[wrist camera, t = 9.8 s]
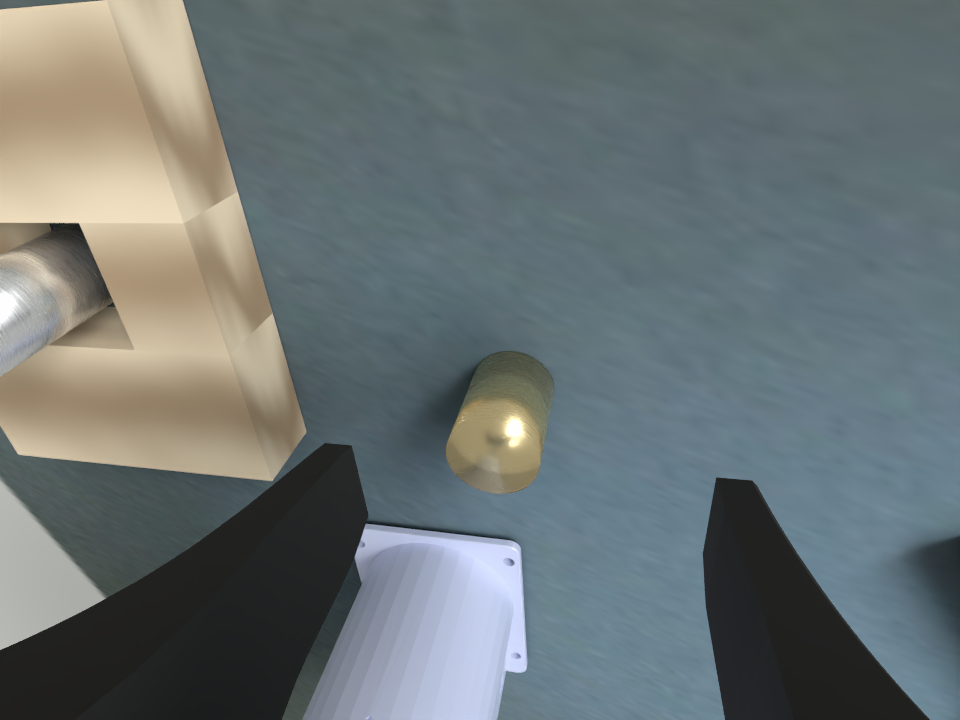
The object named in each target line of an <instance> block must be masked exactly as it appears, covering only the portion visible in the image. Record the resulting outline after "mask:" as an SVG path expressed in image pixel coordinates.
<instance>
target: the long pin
mask: <svg viewBox="0 0 960 720" xmlns="http://www.w3.org/2000/svg"><path fill="white" fill-rule="evenodd" d="M111 303H113V300H112V297H111V295H110V293H109V290H108V288H107V286H106V284H105V281H104V279H103V277H102V275H101V272H100V270H99V268H98V265H97V263H96V261H95V259H94V256H93V254H92V252H91V249H90V247H89V245H88V243H87V240H86V238H85V236H84V233H83V231H82V229H81V227H80V224H79V223H66V224H64V225H62V226H60V227H58V228H55V229H53V230H51V231H49V232H47V233H45V234H43V235H40V236H38V237H36V238H34V239H32V240H30V241H28V242H26V243H23V244H21V245H19V246H17V247H15V248H13V249H11V250H8V251H6V252H4V253H2V254H0V377H1V376H2V375H4V374H5V373H7V372H8V371H10V370H11V369H13V368H14V367H16V366H17V365H19V364H20V363H22V362H23V361H25V360H26V359H28V358H29V357H31V356H32V355H34V354H35V353H37V352H38V351H40V350H41V349H43V348H45V347H46V346H48V345H49V344H51V343H52V342H54V341H55V340H57V339H58V338H60V337H61V336H63V335H64V334H66V333H67V332H69V331H70V330H72V329H73V328H75V327H76V326H78V325H79V324H81V323H82V322H84V321H85V320H87V319H88V318H90V317H91V316H93V315H95V314H96V313H98V312H99V311H101V310H102V309H104V308H105V307H107V306H108V305H110V304H111Z"/></svg>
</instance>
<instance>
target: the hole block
mask: <svg viewBox="0 0 960 720" xmlns="http://www.w3.org/2000/svg"><path fill="white" fill-rule="evenodd" d="M49 223H79V224H80V227H81V229H82V231H83V233H84V236H85V238H86V240H87V243H88V245H89V247H90V249H91V252H92V254H93V256H94V259H95V261H96V263H97V265H98V268H99V270H100V272H101V275H102V277H103V279H104V281H105V284H106V286H107V288H108V290H109V293H110V295H111V297H112V300H113V302H114V304H115V306H116V307H105V308H104V309H102V310H101V311H99V312H98V313H96V314H95V315H93V316H91V317H90V318H88V319H87V320H85V321H84V322H82V323H81V324H79V325H78V326H76V327H75V328H73V329H72V330H70V331H69V332H67V333H66V334H64V335H63V336H61V337H60V338H58V339H57V340H55V341H54V342H52V343H51V344H49V345H48V346H46V347H45V348H43V349H41V350H40V351H38V352H37V353H35V354H34V355H32V356H31V357H29V358H28V359H26V360H25V361H23V362H22V363H20V364H19V365H17V366H16V367H14V368H13V369H11V370H10V371H8V372H7V373H5V374H4V375H2V376H1V377H0V426H1V427H2V429H3V431H4V432H5V434H6V435H7V437H8V439H9V440H10V442H11V444H12V445H13V447H14V448H15V450H16V452H17V453H18V455H26V456H36V457H45V458H55V459H65V460H74V461H84V462H93V463H103V464H113V465H122V466H132V467H141V468H151V469H161V470H170V471H180V472H189V473H199V474H209V475H218V476H228V477H237V478H247V479H257V480H266V481H273V480H274V478H275V477H276V475H277V474H278V472H279V471H280V469H281V468H282V467H283V465H284V464H285V462H286V461H287V459H288V458H289V457H290V455H291V454H292V452H293V451H294V449H295V448H296V447H297V445H298V444H299V442H300V441H301V439H302V438H303V436H304V435H305V434H306V432H307V431H306V427H305V424H304V421H303V417H302V414H301V410H300V407H299V403H298V400H297V396H296V393H295V389H294V386H293V382H292V379H291V375H290V372H289V368H288V365H287V361H286V358H285V354H284V351H283V347H282V344H281V341H280V337H279V334H278V330H277V327H276V323H275V320H274V316H273V313H272V309H271V306H270V302H269V299H268V295H267V292H266V288H265V285H264V281H263V278H262V274H261V271H260V267H259V264H258V261H257V257H256V254H255V250H254V247H253V243H252V240H251V236H250V233H249V229H248V226H247V222H246V219H245V215H244V212H243V208H242V205H241V201H240V198H239V194H238V191H237V187H236V184H235V181H234V177H233V174H232V170H231V167H230V163H229V160H228V156H227V153H226V149H225V146H224V142H223V139H222V135H221V132H220V128H219V125H218V121H217V118H216V114H215V111H214V107H213V104H212V101H211V97H210V94H209V90H208V87H207V83H206V80H205V76H204V73H203V69H202V66H201V62H200V59H199V55H198V52H197V48H196V45H195V41H194V38H193V34H192V31H191V27H190V24H189V21H188V17H187V14H186V10H185V7H184V3H183V0H103V1H92V2H81V3H70V4H59V5H47V6H36V7H25V8H14V9H3V10H0V254H2V253H4V252H6V251H8V250H11V249H13V248H15V247H17V246H19V245H21V244H23V243H26V242H28V241H30V240H32V239H34V238H36V237H38V236H40V235H43V234H45V233H47V232H49V231H51V230H52V229H51V227H50V225H49Z"/></svg>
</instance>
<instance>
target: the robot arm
mask: <svg viewBox="0 0 960 720" xmlns="http://www.w3.org/2000/svg"><path fill="white" fill-rule="evenodd" d="M367 518H368V511H367V507H366V503H365V499H364V495H363V491H362V487H361V482H360V478H359V474H358V470H357V466H356V462H355V458H354V453H353V449H352V446H350V445H339V444H327V443H325V444H323V445H322V446H321V447H319V448H318V449H317V450H316V451H314V452H313V453H312V454H311V455H309V456H308V457H307V458H306V459H304V460H303V461H302V462H301V463H299V464H298V465H297V466H296V467H295V468H293V469H292V470H291V471H290V472H289V473H287V474H286V475H285V476H284V477H282V478H281V479H280V480H279V481H278V482H276V483H275V484H274V485H273V486H271V487H270V488H269V489H268V490H266V491H265V492H264V493H263V494H261V495H260V496H259V497H258V498H256V499H255V500H254V501H253V502H251V503H250V504H249V505H248V506H246V507H245V508H244V509H243V510H241V511H240V512H239V513H237V514H236V515H235V516H233V517H232V518H230V519H229V520H228V521H226V522H225V523H224V524H222V525H221V526H220V527H218V528H217V529H216V530H214V531H213V532H211V533H210V534H209V535H207V536H206V537H205V538H203V539H202V540H201V541H199V542H198V543H196V544H195V545H193V546H192V547H191V548H189V549H188V550H186V551H185V552H183V553H182V554H180V555H179V556H177V557H176V558H174V559H172V560H171V561H169V562H168V563H166V564H164V565H163V566H161V567H160V568H158V569H157V570H155V571H153V572H152V573H150V574H149V575H147V576H145V577H144V578H142V579H140V580H139V581H137V582H135V583H133V584H131V585H130V586H128V587H126V588H124V589H122V590H121V591H119V592H117V593H115V594H113V595H112V596H110V597H108V598H106V599H104V600H103V601H101V602H99V603H97V604H95V605H94V606H92V607H90V608H88V609H86V610H84V611H82V612H81V613H79V614H76V615H74V616H72V617H70V618H69V619H66V620H64V621H62V622H60V623H58V624H56V625H54V626H52V627H50V628H48V629H46V630H44V631H42V632H39V633H37V634H35V635H33V636H31V637H29V638H27V639H24V640H22V641H20V642H18V643H16V644H13V645H11V646H9V647H7V648H4V649H2V650H0V720H282V717H283V715H284V712H285V709H286V707H287V704H288V701H289V698H290V696H291V693H292V690H293V688H294V685H295V682H296V680H297V678H298V675H299V673H300V671H301V669H302V666H303V664H304V662H305V659H306V657H307V655H308V653H309V651H310V649H311V647H312V645H313V643H314V641H315V639H316V637H317V635H318V633H319V631H320V629H321V627H322V624H323V622H324V620H325V618H326V616H327V614H328V612H329V610H330V608H331V606H332V604H333V602H334V600H335V598H336V596H337V594H338V592H339V590H340V588H341V585H342V583H343V581H344V579H345V577H346V575H347V573H348V571H349V569H350V567H351V564H352V562H353V560H354V558H355V561H356V565H357V569H358V572H359V576H360V580H361V583H362V585H361V587H360V589H359V592H358V594H357V596H356V599H355V601H354V603H353V605H352V608H351V610H350V612H349V614H348V617H347V619H346V621H345V624H344V626H343V628H342V630H341V633H340V635H339V637H338V639H337V642H336V644H335V646H334V649H333V651H332V653H331V655H330V658H329V660H328V662H327V664H326V667H325V669H324V671H323V674H322V676H321V678H320V680H319V683H318V685H317V687H316V689H315V692H314V694H313V696H312V699H311V701H310V703H309V705H308V708H307V710H306V712H305V714H304V717H303V719H302V720H497V717H498V712H499V707H500V701H501V696H502V690H503V685H504V680H505V674H506V671H511V672H517V673H521V672H524V671H525V670H526V668H527V648H526V630H525V612H524V595H523V577H522V560H521V548H520V546H519V545H518V544H517V543H515V542H514V541H510V540H503V539H494V538H486V537H477V536H469V535H460V534H451V533H443V532H434V531H426V530H417V529H408V528H400V527H391V526H383V525H374V524H366V521H367ZM509 558H510V559H509ZM703 563H704V583H705V599H706V610H707V616H708V622H709V628H710V634H711V640H712V646H713V652H714V657H715V663H716V669H717V675H718V681H719V686H720V692H721V698H722V704H723V710H724V715H725V720H930V719H929V718H928V717H927V716H926V715H925V714H924V713H923V712H922V711H921V710H920V708H919V707H918V706H917V705H916V704H915V703H914V702H913V701H912V700H911V699H910V698H909V697H908V695H907V694H906V693H905V692H904V691H903V690H902V689H901V688H900V687H899V685H898V684H897V683H896V682H895V681H894V680H893V678H892V677H891V676H890V675H889V674H888V673H887V672H886V670H885V669H884V668H883V667H882V666H881V665H880V663H879V662H878V661H877V660H876V659H875V657H874V656H873V655H872V654H871V653H870V651H869V650H868V649H867V648H866V647H865V645H864V644H863V643H862V642H861V640H860V639H859V638H858V637H857V635H856V634H855V633H854V632H853V630H852V629H851V628H850V626H849V625H848V624H847V622H846V621H845V620H844V618H843V617H842V616H841V615H840V613H839V612H838V611H837V609H836V608H835V607H834V605H833V604H832V603H831V601H830V600H829V598H828V597H827V596H826V594H825V593H824V592H823V590H822V589H821V587H820V586H819V584H818V583H817V582H816V580H815V579H814V577H813V576H812V574H811V573H810V571H809V570H808V568H807V567H806V566H805V564H804V563H803V561H802V560H801V558H800V557H799V555H798V554H797V552H796V551H795V549H794V548H793V546H792V544H791V543H790V541H789V540H788V538H787V537H786V535H785V533H784V532H783V530H782V528H781V527H780V525H779V524H778V522H777V520H776V519H775V517H774V515H773V514H772V512H771V510H770V508H769V507H768V505H767V503H766V501H765V499H764V498H763V496H762V494H761V492H760V490H759V488H758V487H757V485H756V484H755V483H754V482H753V481H750V480H738V479H727V478H716V483H715V488H714V494H713V500H712V505H711V511H710V517H709V522H708V528H707V534H706V539H705V545H704V551H703Z"/></svg>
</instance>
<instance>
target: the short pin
mask: <svg viewBox="0 0 960 720" xmlns="http://www.w3.org/2000/svg"><path fill="white" fill-rule="evenodd" d="M553 395H554V383H553V379H552V377H551V375H550V373H549V371H548V370H547V369H546V367H545V366H544V365H543V364H542V363H540V362H539V361H538V360H536V359H535V358H533V357H531V356H529V355H527V354H524V353H520V352H514V351H504V352H498V353H495V354H492V355H490V356H488V357H486V358H485V359H484V360H483V361H482V362H481V363H480V364H479V365H478V366H477V368H476V370H475V373H474V375H473V378H472V380H471V383H470V385H469V388H468V391H467V393H466V396H465V398H464V401H463V403H462V406H461V408H460V411H459V414H458V416H457V419H456V421H455V424H454V426H453V429H452V431H451V434H450V437H449V439H448V442H447V445H446V457H447V461H448V463H449V465H450V467H451V469H452V470H453V472H454V473H455V474H456V475H457V476H458V477H459V478H460V479H461V480H462V481H464V482H465V483H467V484H468V485H470V486H472V487H474V488H476V489H478V490H481V491H484V492H488V493H495V494H507V493H513V492H517V491H519V490H522V489H524V488H526V487H527V486H528V485H530V484H531V483H532V482H533V481H534V480H535V478H536V477H537V474H538V472H539V468H540V462H541V457H542V452H543V447H544V442H545V436H546V431H547V426H548V421H549V415H550V410H551V405H552V400H553Z"/></svg>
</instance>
